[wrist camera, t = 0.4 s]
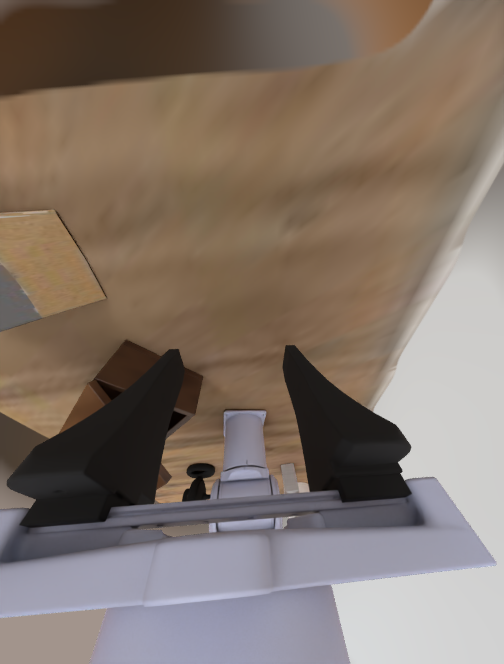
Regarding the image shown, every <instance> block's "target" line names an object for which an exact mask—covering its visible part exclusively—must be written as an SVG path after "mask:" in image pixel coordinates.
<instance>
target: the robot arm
mask: <svg viewBox="0 0 504 664" xmlns="http://www.w3.org/2000/svg"><path fill="white" fill-rule="evenodd" d="M283 372H284V377H285V382H286V385H287V388H288V391H289V395H290V398H291V401H292V404H293V407H294V411H295V414H296V419H297V423H298V428H299V433H300V438H301V443H302V449H303V454H304V460H305V466H306V472H307V478H308V485H309V492H304V493H291V494H280V492H279V486H278V482H277V479H276V478H275V477H274V476H273V475H269V470H268V468H267V465H266V456H265V446H264V437H263V424H264V420H265V416H266V411H265V410H226V411H224V436H225V446H224V463H223V472H221V479H217V480H216V482H215V483H214V484H213V486H212V491H211V497H210V500H199V501H186V502H173V503H160V504H154V501H155V494H156V488H157V482H158V476H159V470H160V465H161V459H162V454H163V450H164V445H165V440H166V436H167V431H168V427H169V423H170V420H171V416H172V413H173V410H174V407H175V405H176V402H177V399H178V396H179V393H180V390H181V387H182V383H183V379H184V373H185V369H184V365H183V362H182V359H181V356H180V352H179V349H169V350H168V351H167V352H166V353H165V354H164V355H163V356H162V357H161V358H160V359H159V360H158V361H157V362H156V363H155V364H154V365H153V366H152V367H151V368H150V369H149V370H148V371H147V372H146V373H145V374H144V375H142V376H141V377H140V378H139V379H138V380H137V381H136V382H135V383H134V384H132V385H131V386H130V387H129V388H128V389H126V390H125V391H124V392H123V393H121V394H120V395H119V396H117V397H116V398H115V399H113V400H112V401H110V402H109V403H108V404H106V405H105V406H103V407H102V408H100V409H99V410H97V411H96V412H94V413H93V414H91V415H90V416H88V417H87V418H85V419H83V420H82V421H80V422H78V423H77V424H75V425H74V426H72V427H70V428H68V429H67V430H65V431H63V432H61V433H59V434H58V435H56V436H54V437H52V438H50V439H49V440H47V441H45V442H43V443H41V444H39V445H37V446H36V447H35V448H34V449H33V450H32V451H31V453H30V454H29V455H28V456H27V457H26V459H25V460H24V461H23V462H22V463H21V464H20V466H19V467H18V468H17V469H16V470H15V472H14V473H13V474H12V475H11V476H10V478H9V479H8V480H7V486H8V487H9V488H10V489H11V490H13V491H16V492H18V493H21V494H23V495H26V496H28V497H31V498H34V499H36V501H35V503H34V504H33V505H32V507H31V508H30V509H29V508H11V509H0V618H3V617H15V616H26V615H37V614H48V613H57V612H58V613H59V612H70V611H80V610H91V609H102V608H107V610H106V613H105V616H104V619H103V622H102V625H101V628H100V632H99V635H98V638H97V641H96V644H95V647H94V650H93V653H92V656H91V659H90V662H89V664H350V661H349V657H348V653H347V649H346V645H345V640H344V636H343V632H342V628H341V624H340V620H339V616H338V611H337V607H336V603H335V599H334V595H333V591H332V587H331V584H340V583H348V582H356V581H365V580H374V579H382V578H391V577H398V576H408V575H417V574H425V573H434V572H442V571H451V570H460V569H468V568H478V567H488V566H496V561H495V560H494V558H493V557H492V556H491V554H490V553H489V552H488V550H487V549H486V547H485V546H484V544H483V543H482V542H481V540H480V539H479V537H478V536H477V534H476V533H475V532H474V530H473V529H472V528H471V526H470V525H469V523H468V522H467V521H466V519H465V518H464V516H463V515H462V514H461V512H460V511H459V509H458V508H457V507H456V505H455V504H454V502H453V501H452V500H451V499H450V497H449V495H448V494H447V493H446V491H445V490H444V488H443V487H442V486H441V484H440V483H439V482H438V480H437V479H436V478H435V477H425V478H412V479H407V480H405V481H404V479H403V477H402V476H401V474H400V473H402V469H401V467H400V465H399V464H398V462H399V461H400V460H401V459H402V458H404V457H405V456H406V455H407V454H408V453H409V452H410V450H411V445H410V444H409V442H408V441H407V440H406V438H405V436H404V435H403V434H402V432H401V431H400V430H399V428H398V427H397V426H396V425H395V424H393V423H392V422H390V421H388V420H386V419H384V418H382V417H381V416H379V415H377V414H375V413H373V412H372V411H370V410H369V409H367V408H365V407H364V406H362V405H361V404H359V403H358V402H356V401H354V400H353V399H352V398H350V397H349V396H347V395H346V394H345V393H343V392H342V391H341V390H339V389H338V388H337V387H336V386H334V385H333V384H332V383H331V382H329V381H328V380H327V379H326V378H325V377H324V376H323V375H322V374H321V373H320V372H319V371H318V370H317V369H316V368H315V367H314V366H313V365H312V364H311V363H310V362H309V361H308V360H307V359H306V358H305V357H304V355H303V354H302V353H301V352H300V351H299V350H298V348H297V347H296V346H295V345H286V347H285V353H284V360H283ZM293 516H298V517H293ZM282 517H293V518H289V519H288V520H287V526H286V527H284V529H283V527H282ZM197 524H209V533H203V534H194V535H185V536H179V537H171V536H167V535H165V534H164V533H163V532H162V530H143V529H150V528H162V527H174V526H185V525H197Z"/></svg>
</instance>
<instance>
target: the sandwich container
mask: <svg viewBox="0 0 504 664" xmlns="http://www.w3.org/2000/svg"><path fill="white" fill-rule="evenodd" d="M103 299H106V297H105V295H104V293H103V291H102V289H101V287H100V286H99V284H98V282H97V280H96V278H95V276H94V274H93V272H92V271H91V269H90V267H89V265H88V263H87V261H86V260H85V258H84V256H83V255H82V253H81V252H80V250H79V249H78V247H77V245H76V244H75V242H74V241H73V239H72V238H71V236H70V234H69V233H68V231H67V230H66V228H65V227H64V225H63V224H62V222H61V220H60V219H59V217H58V216H57V214H56V212H55V210H42V211H21V212H0V332H1V331H4V330H7V329H10V328H14V327H17V326H20V325H23V324H26V323H29V322H32V321H35V320H39V319H42V318H45V317H48V316H51V315H55V314H58V313H61V312H64V311H67V310H71V309H74V308H77V307H80V306H84V305H87V304H90V303H93V302H97V301H100V300H103Z"/></svg>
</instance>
